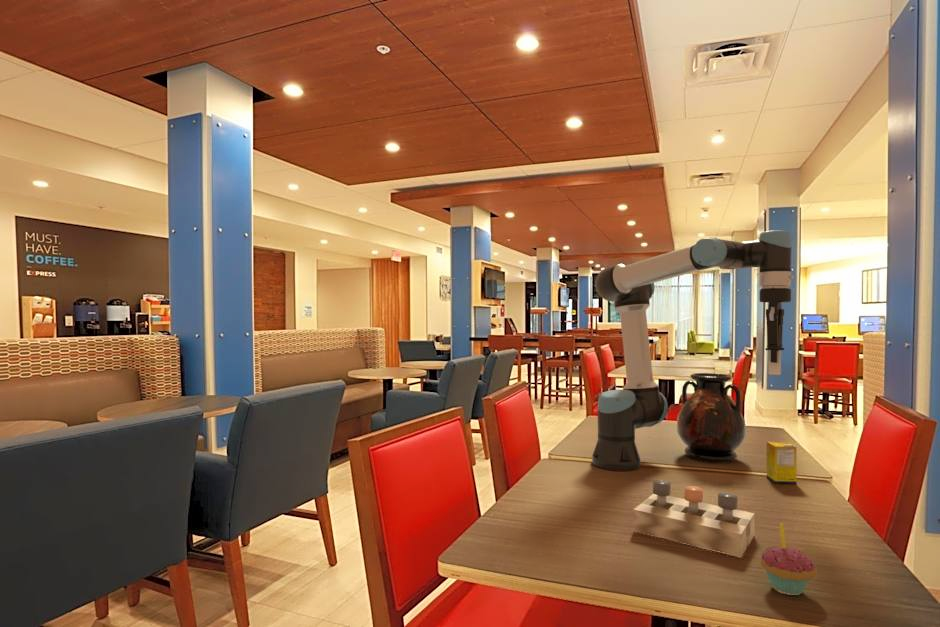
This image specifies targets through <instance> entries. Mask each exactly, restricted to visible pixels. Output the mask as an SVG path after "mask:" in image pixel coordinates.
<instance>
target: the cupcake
mask: <svg viewBox="0 0 940 627" xmlns="http://www.w3.org/2000/svg"><path fill="white" fill-rule="evenodd" d="M784 526H785V525H784V522H783V520H782V518H781V517H779V533H780V534H779V535H780V536H779V537H780V544H781V546H780V545H777V546H773V547H768V548H766V549H765V550H764V551H762V553H761V558H760V565H761V567H762V568H763V569H764V570H765V572H766V574H767V576H768V580H769V583H770V585H772V586H773V587H774V588H776V589H777V590H780V591H782V592H786V593H790V594H799V593H802V594H803V592H804V589H805V586H806V584H807V582H808V581H809V579H813V578H815V577H816V575H817V568H816V563H814V561H812V559H811V558H809V557H808V556H807V555H806V554H805V553H803V552H801V551H800V550H797V549H795V548H791V547H788V546H787V547H786V537H785V528H784ZM772 586H771V587H772Z"/></svg>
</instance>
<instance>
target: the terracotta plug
mask: <svg viewBox="0 0 940 627" xmlns="http://www.w3.org/2000/svg"><path fill="white" fill-rule="evenodd" d="M683 495H684V496H683V497H684V498H683V499H685V500H686V501H689V512H691V513H698V503H700V502H701V503H704V502H703V501H704V490H703V488H702V487H699V486H695V485H694V486H693V485H692V486H691V485H688V486H684V494H683Z"/></svg>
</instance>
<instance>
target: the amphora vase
mask: <svg viewBox="0 0 940 627" xmlns="http://www.w3.org/2000/svg"><path fill="white" fill-rule="evenodd" d="M689 377H690V379H692V380H687V381H685V382H684V384H683V385H682V390H681V397H682V398H681V400H682V401H681V403H682V406H681V409H680V410H679V412H678V414H677V419H676V431H677V434H678V437H679V438H680V439H681V441H682V442H683V443H684V444H685V446H686V447H685V448H684V454H685V455H686V456H687V457H689V458H691V459H693V460H696V459H697V461H700V460H701V462H705V461H708V462H707V463H714V462H726V463H730V462H733V461H736V459H737V458H738V453H737V452H736V450H737V449H738V448H740V446H741V444H742V443H743V442H744V441H745V438H746V436H747V434H746V433H747V427H746V421H745V418H744V416H743V414H742V407H741V406H742V403H741V402H742V396H741V395H742V394H741V390H740V388H739V387H738V386H737V385H735V384H727V386H726V383H727V382H730V381H732V376H731V375H729V374H723V373H714V372H713V373H712V372H698V373H697V372H695V373H692V374H690V376H689ZM689 385H691V386H692V387H693V389H694V390H693V391H694V392H693V393H692V394H691V395H690V396H689V397H688V396H687V394H688V393H687V390H688V387H689ZM729 389H733V390H734V392H735V397H736V399H735V401H734V400H733V399H732V397H730V396H729V394H728V391H729Z"/></svg>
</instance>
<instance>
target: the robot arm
mask: <svg viewBox="0 0 940 627" xmlns="http://www.w3.org/2000/svg"><path fill="white" fill-rule="evenodd" d="M791 237H792V236H791V233H790V232H789V231H788V230H780V229H779V230H777V229H776V230H767V231H762V232H761V233H760V234H759V238H758V239H756V240H748V241H736V240H735V241H734V240H727V239H720V238H717V237H703V238H701V239H699V240H697V241H696V242H695V243H694V244H692V245H690V246H689V245H688V246H685V247H682V248H679V249H676V250H672V251H670V252H666V253H662V254H659V255H656V256H653V257H649V258H646V259H642V260H640V261H636V262H633V263H630V264H626V265H625V264H623V263H620V264H619V263H618V264H616V265H615V264H614V265H612V266H609V267H606V268H604V269H602V270H600V272H599V273H598V274H597V276H596V278H595V282H594V283H595V285H594V286H595V290H596V293H597V294H598V296H599V297H601V298H602V299H603V300H606V301H608V302H611V303H613V302H614V303H613V304H614V309H615V310H616V311H617V312H618V313H619V317H620V325H621V326H620V327H621V336H622V348H623V356H624V363H625V373H626V383H625V385H624V386H623V387H622V389H612V390H611V389H610V390H607V391H604V392H602V393H600V394H599V396H598V397H597V441H596V444H595V446H594V450H593V453H592V457H591V461H592V462H591V463H592V465H593V466H595V467H597V468H600V469H603V470H604V469H605V470H610V471H620V472H621V471H622V472H623V471H625V472H626V471H633V470H634V471H635V470H638V469H641V466H642V464H641V463H642V461H641V457H640V453H639V449H638V447H637V444H636V430H637V429H641V428H651V427H653V426H656V425H658V424H660V423H662V422H663V421H664V420H665V418H666V417H667V415H668V411H669V405H668V401H667V398H666V397H665V396H664V394H663V393H662V392H660V388H659V387H660V386H659V384H658V383H656V381H654V375H653V366H652V357H651V348H650V347H651V346H650V338H649V336H650V335H649V328H648V318H647V310H648V308H649V307H650V306H651V303H650V300H651V299H652V297H653V295H654V293H655V283H658V282H662V281H665V280H669V279H673V278H677V277H679V276H680V277H681V276H684V275H688V274H691V273H695V272H698V271H703V270H708V269H712V268H720V269H722V270H735V269H736V270H737V269H749V268H750V269H751V268H759V273H758V274H759V276H758V277H759V280H758V283H759V287H760V289H759V302H760V303H768V308H766V309H765V318H766V332H767V333H766V339H767V340H766V341H767V345H766V347H765V351H768V375H773V376H775V375H776V376H780V375H781V374H782V351H785V347H783V328H784V327H783V325H784V316H785V309H784V308H782V303H790V302H791V301H792V289H791V288H789V287H791V285H792V280H791V279H794V277H795V276H794V275H793V274H792V249H793V246H792V238H791Z"/></svg>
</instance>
